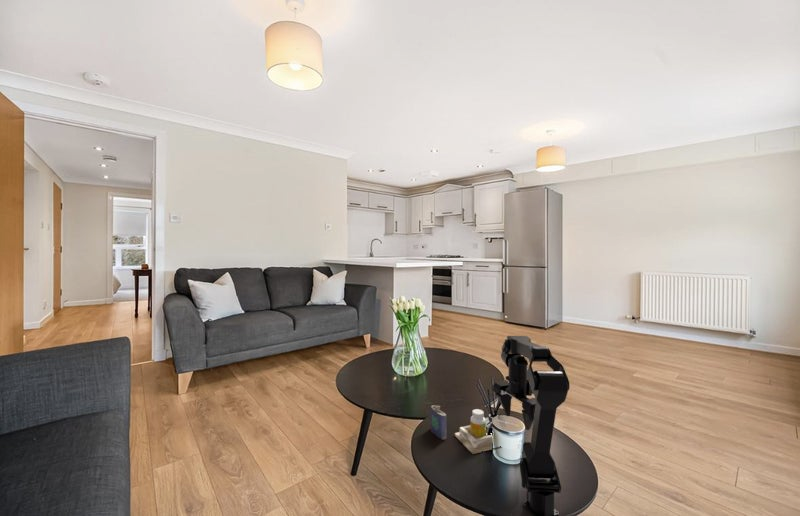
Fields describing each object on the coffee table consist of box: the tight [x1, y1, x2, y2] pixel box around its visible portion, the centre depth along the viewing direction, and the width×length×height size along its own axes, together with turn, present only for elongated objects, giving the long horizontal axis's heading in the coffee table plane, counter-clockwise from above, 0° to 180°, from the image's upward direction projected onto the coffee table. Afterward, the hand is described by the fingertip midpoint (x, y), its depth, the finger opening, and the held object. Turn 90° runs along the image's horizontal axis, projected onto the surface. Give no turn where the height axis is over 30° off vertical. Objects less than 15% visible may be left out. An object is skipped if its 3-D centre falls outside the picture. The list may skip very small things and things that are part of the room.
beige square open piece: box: [454, 424, 493, 455], centre depth 119 cm, size 12×12×4 cm
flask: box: [430, 405, 447, 441], centre depth 123 cm, size 9×3×11 cm, turn 25°
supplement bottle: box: [469, 408, 487, 438], centre depth 118 cm, size 5×5×10 cm
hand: (517, 422), depth 106 cm, fingers open, 9 cm apart
